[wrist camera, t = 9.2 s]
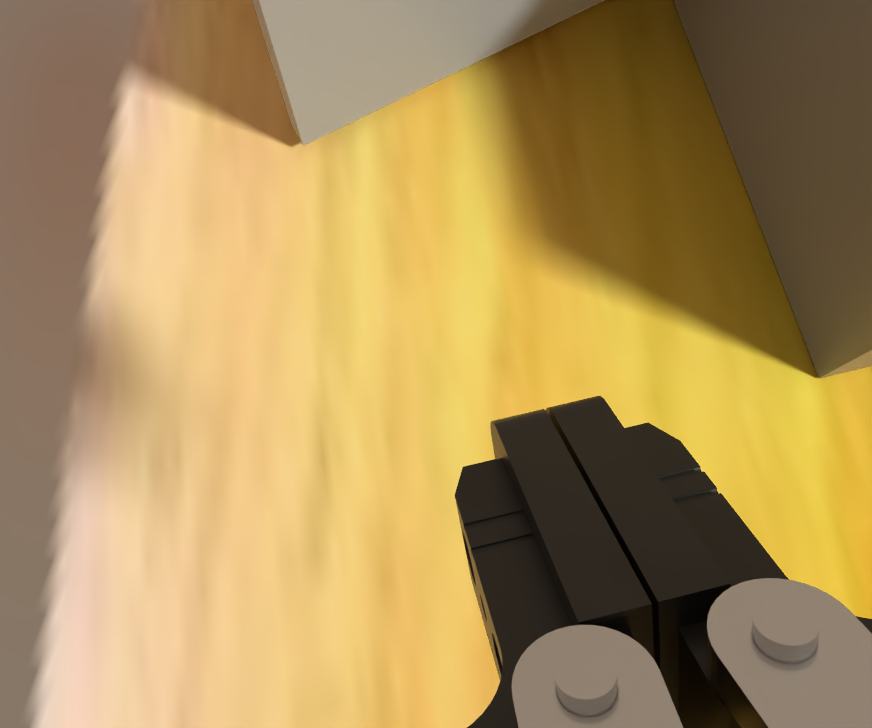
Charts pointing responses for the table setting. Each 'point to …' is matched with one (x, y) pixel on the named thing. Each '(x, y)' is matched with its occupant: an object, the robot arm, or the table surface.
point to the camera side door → (385, 49)
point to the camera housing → (801, 151)
